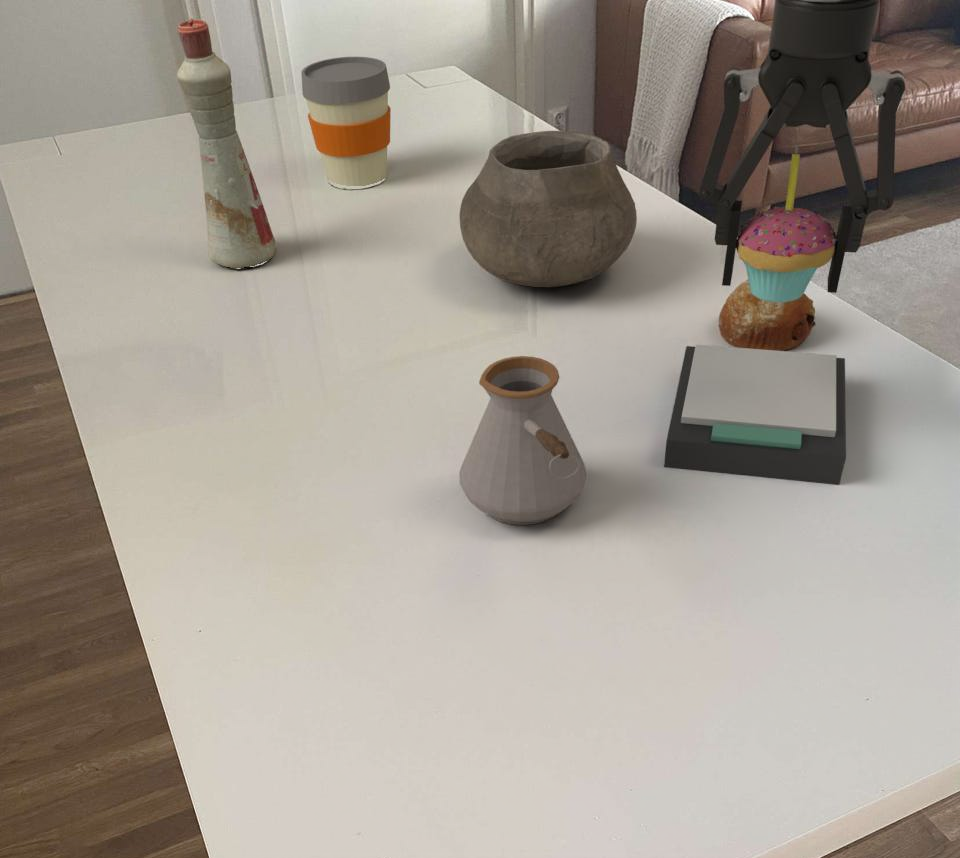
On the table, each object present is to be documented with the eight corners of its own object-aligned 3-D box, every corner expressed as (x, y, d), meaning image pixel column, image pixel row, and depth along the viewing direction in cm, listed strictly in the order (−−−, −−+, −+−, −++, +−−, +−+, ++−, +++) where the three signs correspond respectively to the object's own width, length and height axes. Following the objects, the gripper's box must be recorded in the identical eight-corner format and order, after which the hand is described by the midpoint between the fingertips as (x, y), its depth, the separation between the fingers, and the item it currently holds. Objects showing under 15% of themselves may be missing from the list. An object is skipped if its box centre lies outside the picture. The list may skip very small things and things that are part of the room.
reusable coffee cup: (415, 176, 152) (406, 66, 142) (350, 201, 146) (335, 88, 136) (364, 157, 159) (351, 51, 148) (299, 180, 153) (281, 71, 143)
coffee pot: (451, 473, 96) (440, 327, 86) (568, 456, 98) (571, 310, 87) (494, 622, 81) (486, 468, 71) (631, 600, 82) (644, 445, 72)
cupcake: (724, 271, 94) (741, 135, 86) (816, 269, 94) (842, 132, 86) (737, 314, 88) (757, 172, 80) (836, 312, 88) (866, 169, 79)
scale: (839, 384, 105) (846, 350, 102) (839, 484, 92) (848, 449, 90) (683, 371, 108) (687, 338, 105) (663, 466, 96) (667, 432, 93)
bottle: (198, 257, 135) (139, 18, 115) (259, 238, 138) (211, 2, 119) (228, 279, 130) (171, 32, 110) (289, 258, 133) (245, 15, 114)
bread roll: (739, 337, 120) (718, 274, 116) (827, 312, 114) (807, 246, 110) (722, 378, 113) (699, 313, 109) (814, 354, 108) (793, 285, 104)
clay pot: (437, 259, 131) (428, 137, 120) (584, 226, 136) (587, 106, 126) (506, 330, 116) (502, 198, 106) (667, 290, 122) (678, 160, 111)
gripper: (679, 0, 74) (655, 293, 90) (987, 3, 70) (905, 310, 86) (689, -24, 79) (665, 257, 95) (976, -23, 75) (901, 271, 91)
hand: (779, 282), depth 91 cm, fingers closed on cupcake, 8 cm apart
